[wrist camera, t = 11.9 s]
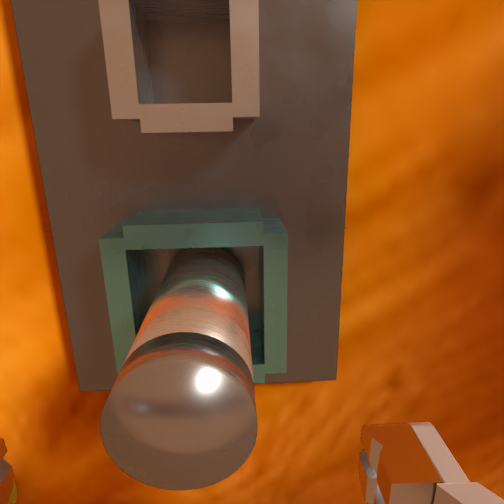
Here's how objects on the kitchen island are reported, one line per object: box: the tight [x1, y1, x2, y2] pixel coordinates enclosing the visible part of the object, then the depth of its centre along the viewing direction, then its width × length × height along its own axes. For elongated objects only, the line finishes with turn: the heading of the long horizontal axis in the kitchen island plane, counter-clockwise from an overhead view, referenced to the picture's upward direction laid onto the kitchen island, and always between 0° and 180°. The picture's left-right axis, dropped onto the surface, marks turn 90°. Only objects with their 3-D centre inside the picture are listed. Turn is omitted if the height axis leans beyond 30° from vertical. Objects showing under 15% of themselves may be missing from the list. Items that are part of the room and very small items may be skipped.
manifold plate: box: [11, 0, 357, 392], centre depth 17 cm, size 14×22×4 cm, turn 1°
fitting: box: [100, 247, 257, 490], centre depth 15 cm, size 4×4×10 cm
